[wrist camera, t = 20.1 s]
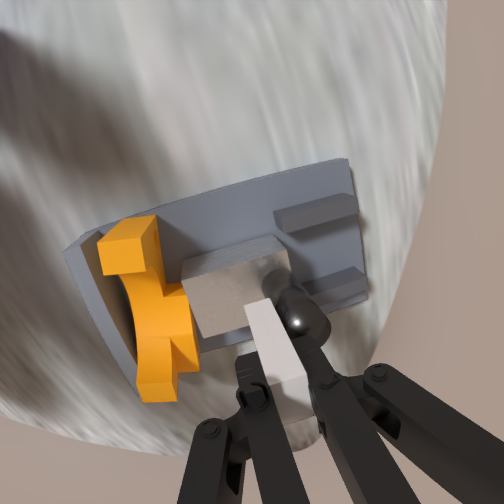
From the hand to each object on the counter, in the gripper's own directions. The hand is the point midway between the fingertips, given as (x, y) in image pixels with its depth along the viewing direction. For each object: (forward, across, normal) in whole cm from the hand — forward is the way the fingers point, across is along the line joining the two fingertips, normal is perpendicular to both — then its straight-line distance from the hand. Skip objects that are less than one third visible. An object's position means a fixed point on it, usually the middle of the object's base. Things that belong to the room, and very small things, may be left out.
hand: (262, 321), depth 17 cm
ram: (+7, 0, 0) cm, 7 cm away
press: (+9, -1, 0) cm, 9 cm away
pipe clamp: (+8, -7, 0) cm, 10 cm away
